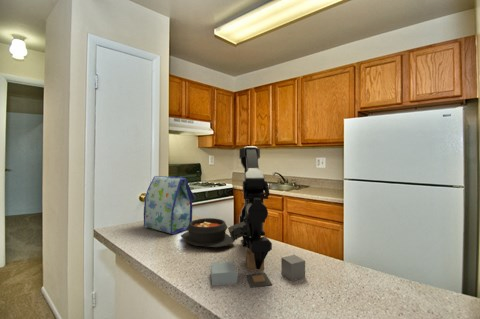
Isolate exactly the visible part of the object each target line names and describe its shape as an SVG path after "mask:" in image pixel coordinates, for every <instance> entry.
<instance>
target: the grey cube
mask: <svg viewBox="0 0 480 319" xmlns="http://www.w3.org/2000/svg"><path fill="white" fill-rule="evenodd" d="M280 259H281V260H280V262H281V266H280V267H281V275H283V276H284V277H285V278H287V279H288V280H290V282H293V281H297V280H301V279H304V278H306V260H305V259H303V258H301V257H299V256H298V255H296V254H292V255H291V254H290V255H287V256H282V257H281V258H280Z"/></svg>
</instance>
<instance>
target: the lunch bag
mask: <svg viewBox="0 0 480 319" xmlns="http://www.w3.org/2000/svg"><path fill="white" fill-rule="evenodd" d="M195 199H196V197H195V195H194V193H193V192H192V190H191V187H190V185H189V181H188V179H187V178H186V177H182V176H162V175H154V176H153V178H152V180H151V181H150V183H149V185H148V188H147V191H146V193H145V199H144V206H143V227H145V228H148V229H152V230H156V231H160V232H163V233H167V234H171V235H174V234H177V233H180V232H181V231H188V230H187V227H188V226H189V223H190V222H191V221H193V201H195Z"/></svg>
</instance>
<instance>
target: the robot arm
mask: <svg viewBox="0 0 480 319" xmlns="http://www.w3.org/2000/svg"><path fill="white" fill-rule="evenodd" d="M260 158H261V148H259V147H258V146H255V145H254V146H252V145H251V146H250V145H249V146H248V145H247V146H244V147H241V148H240V149H239V150H238V159H239V160H240V164H241V166H242V168H243V169H244V173H243V175H244V176H243V177H244V179H242V199H243V200H244V205H243V207H242V208H241V211H240V214H239V215H238V216H239V217H238V218H239V219H238V223H235V224H233V225H230V226H228V227H227V230H228V233H229V236H230V237H231V238H232V240H235V241H236V240H238V239H239V238H242V239H240V243H241V244H242V246H243V247H247V249H250V251H251V252H252V253H254V258H255V265H256V269H260V268H261V265H262V263H263V261H264V262H265V260H266V258H267V255H268V254H269V252H271V251H272V250H273V243H272V242H271V241H270V239H269V238H268V237H266V231H265V230H264V223H266V220H267V217H268V214H269V211H268V207H266V205H265V204H264V200H266V199H267V200H268V199H269V196H270V189H269V188H270V187H269V183H268V182H267V179H265V175H264V172H262V171H261V170H260V167H259V160H260Z"/></svg>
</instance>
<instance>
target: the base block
mask: <svg viewBox="0 0 480 319" xmlns="http://www.w3.org/2000/svg"><path fill="white" fill-rule="evenodd" d="M236 267H237V266H236V264H235V261H234V260H233V261H221V262H220V261H219V262H210V277H211V283H212V286H219V285H220V286H221V285H229V284H230V285H231V284H237V283H238V270H237V268H236Z"/></svg>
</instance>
